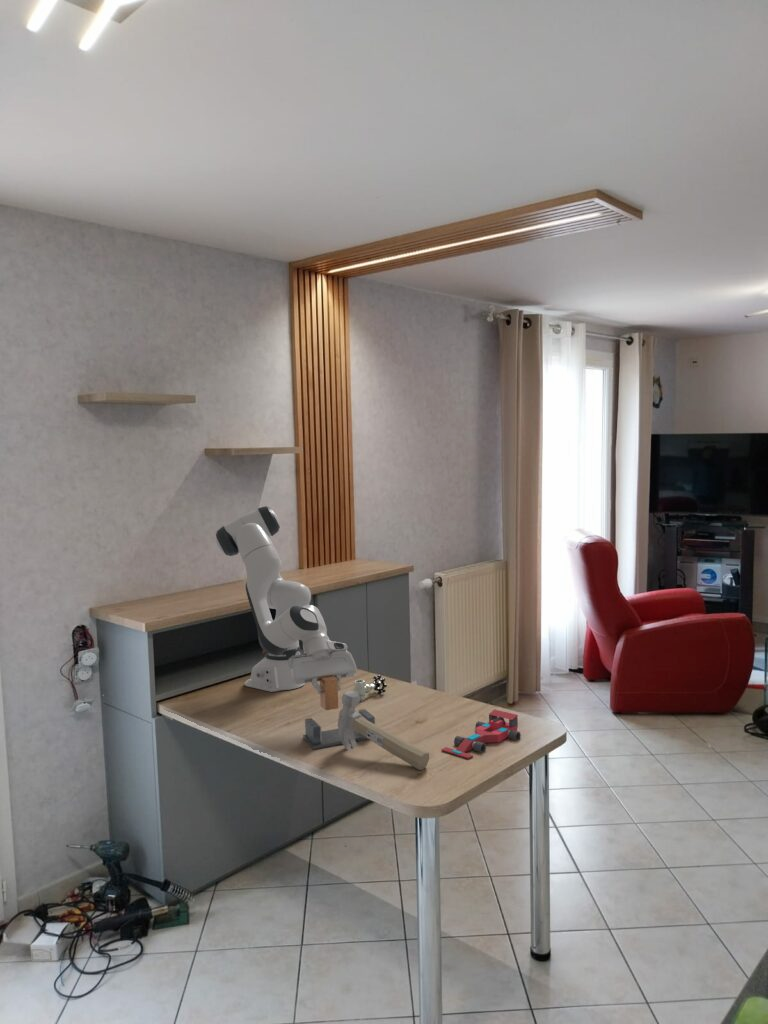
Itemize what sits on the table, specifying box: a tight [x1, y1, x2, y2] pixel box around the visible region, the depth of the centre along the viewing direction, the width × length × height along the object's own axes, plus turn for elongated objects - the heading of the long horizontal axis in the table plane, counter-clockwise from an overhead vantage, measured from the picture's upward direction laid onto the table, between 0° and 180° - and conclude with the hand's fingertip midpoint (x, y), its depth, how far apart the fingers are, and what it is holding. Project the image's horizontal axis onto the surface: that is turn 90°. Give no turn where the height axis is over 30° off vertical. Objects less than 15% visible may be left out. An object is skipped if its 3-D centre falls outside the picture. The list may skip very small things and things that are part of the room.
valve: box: [353, 674, 388, 702], centre depth 265 cm, size 7×7×12 cm
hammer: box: [337, 690, 430, 771], centre depth 211 cm, size 16×5×30 cm
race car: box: [441, 709, 522, 760], centre depth 220 cm, size 14×6×25 cm
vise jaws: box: [302, 708, 376, 750], centre depth 227 cm, size 10×20×6 cm, turn 113°
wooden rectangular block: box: [319, 675, 339, 711], centre depth 232 cm, size 5×4×9 cm
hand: (329, 691), depth 232 cm, fingers closed on wooden rectangular block, 4 cm apart
